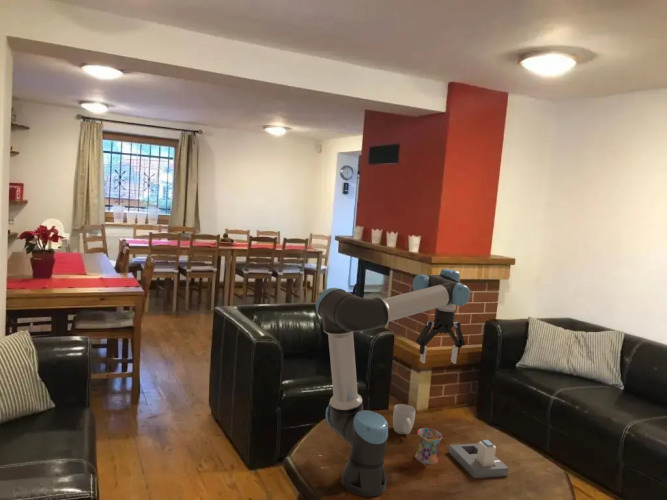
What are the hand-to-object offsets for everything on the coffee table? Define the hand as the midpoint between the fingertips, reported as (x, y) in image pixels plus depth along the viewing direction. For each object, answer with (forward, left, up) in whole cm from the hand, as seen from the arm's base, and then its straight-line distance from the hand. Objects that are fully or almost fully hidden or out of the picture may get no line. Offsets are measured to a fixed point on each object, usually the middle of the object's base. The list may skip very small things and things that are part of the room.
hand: (437, 362), depth 201 cm
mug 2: (-5, -9, -35) cm, 36 cm away
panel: (+13, -16, -35) cm, 40 cm away
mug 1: (-5, +11, -35) cm, 37 cm away
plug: (+13, -20, -34) cm, 42 cm away
